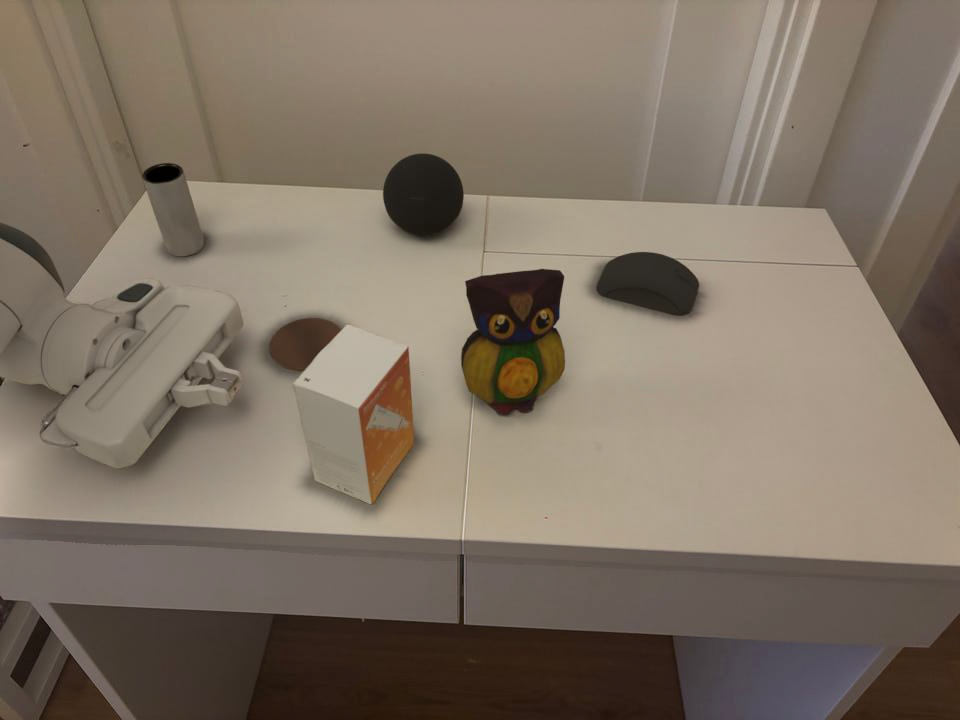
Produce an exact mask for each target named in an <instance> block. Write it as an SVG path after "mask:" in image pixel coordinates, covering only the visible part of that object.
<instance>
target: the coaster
mask: <svg viewBox="0 0 960 720" xmlns="http://www.w3.org/2000/svg"><path fill="white" fill-rule="evenodd" d="M341 330H342V328H341V327H340V326H339V325H337V324H336V323H335V322H333V321H331V320H328V319H325V318H320V317H319V318H318V317H306V318H300V319H296V320H293V321H291V322H288V323H287V324H284V325H283V326H281V327H280V328H279V329H278V330H277V331H275V332H274V334H273V335H272V337H271V339H270V342H269V353H270V356H271V358H272V359H273V360H274V362H275V363H276V364H278V365H279V366H281V367H283V368H284V369H285V368H286V369H288V370H292V371H298V372H300V371H301V372H303V371H304V370H305V369H306V368H307V367H308V366H309V365H310V364H311V362H312V361H313V360H314V359H315V357H316V356H317V355H318V354H319V353H320V351H321V350H323V349H324V348H325V347H326V346H327V345H328V344H329V343H330V342H331V341H332V340H333V338H334V337H335V336H336V335H337V334H338V333H339V332H340V331H341Z"/></svg>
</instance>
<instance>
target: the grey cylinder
mask: <svg viewBox="0 0 960 720" xmlns="http://www.w3.org/2000/svg"><path fill="white" fill-rule="evenodd" d="M141 179H142V182H143V184H144V187H145V191H146V193H147V197H148V199H149V202H150V205H151V208H152V211H153V214H154V217H155V220H156V223H157V225H158V229H159V232H160V234H161V237H162V240H163V243H164V247H165V249H166V251H167V252H168V253H169V254H170V255H172V256H175V257H188V256H191V255H195V254H196V253H199V252H200V251H201V250H202V249H203V248H204V246H205V240H204V235H203V232H202V229H201V225H200V222H199V218H198V215H197V212H196V208H195V205H194V201H193V199H192V195H191V192H190V191H191V190H190V188H189V184H188V182H187V178H186V175H185V171H184V169H183V168H182V166H180V165H179V164H176V163H171V162H164V163H157V164H153V165H151V166H149V167H148V168H146V169H145V170H144V171H143V172H142V174H141Z"/></svg>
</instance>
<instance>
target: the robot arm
mask: <svg viewBox="0 0 960 720" xmlns="http://www.w3.org/2000/svg"><path fill="white" fill-rule="evenodd" d="M65 293H66V292H65V287H64V284H63V281H62V279H61V277H60V274H59V272H58V269H57V267H56V266H55V263H54V261H53V260H52V257H51V256H50V254H49V253H48V252H47V251H46V249H45V248H44V246H42V245H41V244H40V243H39V242H38V241H37V240H36V239H35V238H33V237H32V236H30V234H28V233H26V232H24V231H22V230H20V229H19V228H16V227H14V226H11V225H9V224H6V223H3V222H1V221H0V378H3V379H5V380H9V381H12V382H15V383H19V384H23V385H43V386H44V387H46V388H48V389H49V390H51V391H53V392H55V393H57V394H60V395H63V396H62V397H61V399H60V400H59V401H58V403H57V404H56V405H55V407H54V408H53V409H52V410H51V411H50V410H49V412H48V413H46V414H45V416H43V418H42V420H41V421H40V426H41V427H40V430H39V433H38V434H39V435H38V436H39V438H40V440H41V442H43V443H44V444H45V445H48V446H50V447H54V448H58V449H61V450H62V449H63V450H69V449H73V450H75V451H76V452H78V453H80V454H82V455H83V456H85V457H87V458H90V459H92V460H94V461H96V462H98V463H100V464H103V465H106V466H109V467H111V468H114V469H123V468H126V467H130V466H133V465H134V464H136V463H137V462H138V460H140V458H141V457H142V455H143V454H144V453H145V451H147V449H148V448H149V446H150V445H151V444H152V443H153V441H154V440H155V439H156V438H157V436H159V434H160V432H161V431H162V430H163V429H164V428H165V426H166V425H167V424H168V422H169V421H170V420H171V418H172V417H173V416H174V415H175V414H176V412H177V411H178V410H179V409H180V408H181V407H184V408H194V407H199V406H205V405H209V404H211V403H213V404H217V405H220V406H225V407H227V406H228V405H229V404H230V403H231V401H232V400H233V398H234V397H235V396H236V395H237V393H238V392H239V391H240V389H241V388H242V386H243V385H244V384H245V380H244V376H243V374H242V372H241V371H239V370H237V369H233V368H230V367H226V366H225V365H224V364H223V363H222V362H221V360H219V358H220V357H221V356H222V354H223V353H224V352H225V350H226V349H227V348H228V347H229V346H230V344H231V343H232V341H233V340H234V339H235V338H236V336H237V335H238V334H239V333H240V332H241V330H242V329H243V328H244V324H245V322H244V318H243V314H242V311H241V307H240V304H239V302H238V300H237V299H236V298H235V297H234V296H233V295H232V294H229V293H227V292H223V291H219V290H215V289H210V288H205V287H200V286H194V285H187V284H183V285H182V284H177V285H172V286H171V285H170V286H168V287H166V288H165V287H164V284H163V282H162V281H161V280H159V279H156V278H153V277H152V278H151V277H146V278H142V279H141V280H139V281H136V282H135V283H134V284H132V285H131V286H129V287H127V288H125V289H124V290H122V291H120V292H118V293H116V294H114V295H112V296H109V297H106V298H105V299H101V300H99V301H96V302H95V303H93V304H88V303H74V302H71V301H69V300H68V299H67V298H65V296H64V294H65ZM213 377H215V378H214V380H212V382H211V383H205V384H199V383H200V382H201V381H202V380H203V379H207V380H211V379H212V378H213Z"/></svg>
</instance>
